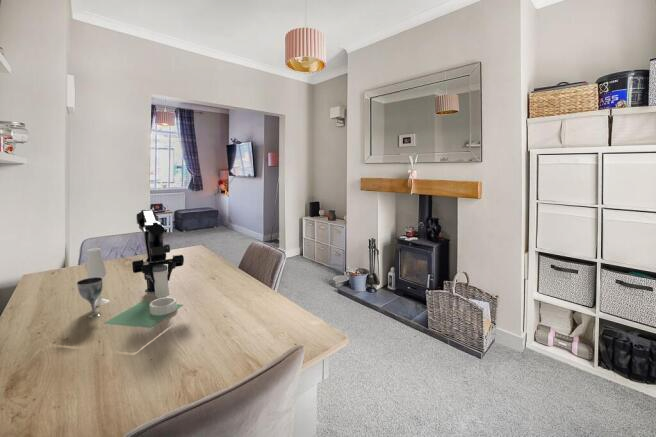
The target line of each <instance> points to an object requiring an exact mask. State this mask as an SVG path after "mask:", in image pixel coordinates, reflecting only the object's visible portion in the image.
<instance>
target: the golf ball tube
mask: <svg viewBox="0 0 656 437" xmlns="http://www.w3.org/2000/svg"><path fill="white" fill-rule="evenodd" d="M153 275H154V286H155V292H154V294H155V298H157V299H159V298H165V297H169V295H170V287H169V286H170V285H169V281H168V264H165V265H158V266H154V267H153Z"/></svg>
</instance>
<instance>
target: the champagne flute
mask: <svg viewBox="0 0 656 437" xmlns="http://www.w3.org/2000/svg"><path fill="white" fill-rule="evenodd" d="M86 253H87V255H86V258H87V259H86V261H87V263H86V266H87V268H86V271H87V274H86V275H87V278H93V277H100V278H102V280H103V279H104V278H105V277H106V275H107V269H106V265H105V261H104V257H103V256H104V255H103V252H102V248H99V247H96V248H95V247H94V248H90V249H89V248H88V249H87V250H86ZM109 302H110V300H109V299H106V298H102V293H101V294H100V296H99V297H98V298H97V300H96V301H95V307H98V306H99V307H100V306H103V305H105V304H107V303H109Z"/></svg>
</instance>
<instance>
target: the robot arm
mask: <svg viewBox="0 0 656 437" xmlns="http://www.w3.org/2000/svg"><path fill="white" fill-rule="evenodd" d="M157 220H158V219H157V213H156V212H155V211H154V209H152V208H150V209H149V208H148V209H141V210H140V212H138V213H137V214H136V224H137V225H138V228H139V229H140V231H142V233H143V238H144V243H145V244H144V245H145V251H146V252H145V253H146V257H147V258H146V260H145V261H144V259H136V260H132V261H131V265H132V273H134V274H137V273H142V274H143V278H144V280H145V281H146V289H145V291H144V292H154V293H155V286H154V275H153V267H154V266H158V265H167V274H168V282H169V281H171V280H170V279H171V275H172V272H173V270H174V269H176V268H179V267H183V266H184V262H185V258H184V255H183V254H180V253H179V254H173V255H172V258H168V259H167V253H170V252H171V247H170V246H171V245H170V243H169V244H167V243H166V244H164V239H165V233H166V232H167V229H166V228H165V227H164V225H162V223H161V221H157Z"/></svg>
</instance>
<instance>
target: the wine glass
mask: <svg viewBox="0 0 656 437" xmlns="http://www.w3.org/2000/svg"><path fill="white" fill-rule="evenodd" d="M76 284H77V285H76V286H77V290H78V293H79V295H80V297H81V298H82V299H84V300H85V301H87V302H88V303H89V304H90V306H91V311H92V314H90V315H89V316H88V318H89V319H90V318H91V319H93V318H96V317H99V316H100V315H101V314H100V313H96V310H95V307H96V306H95V301H96V300H98V297H99V296H100V294H101V295H102V291H103V288H104V287H103V284H104V282H103V279H102V278H100V277H93V278H88V277H87V278H84V279H80V280H79V281H77V282H76Z"/></svg>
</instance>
